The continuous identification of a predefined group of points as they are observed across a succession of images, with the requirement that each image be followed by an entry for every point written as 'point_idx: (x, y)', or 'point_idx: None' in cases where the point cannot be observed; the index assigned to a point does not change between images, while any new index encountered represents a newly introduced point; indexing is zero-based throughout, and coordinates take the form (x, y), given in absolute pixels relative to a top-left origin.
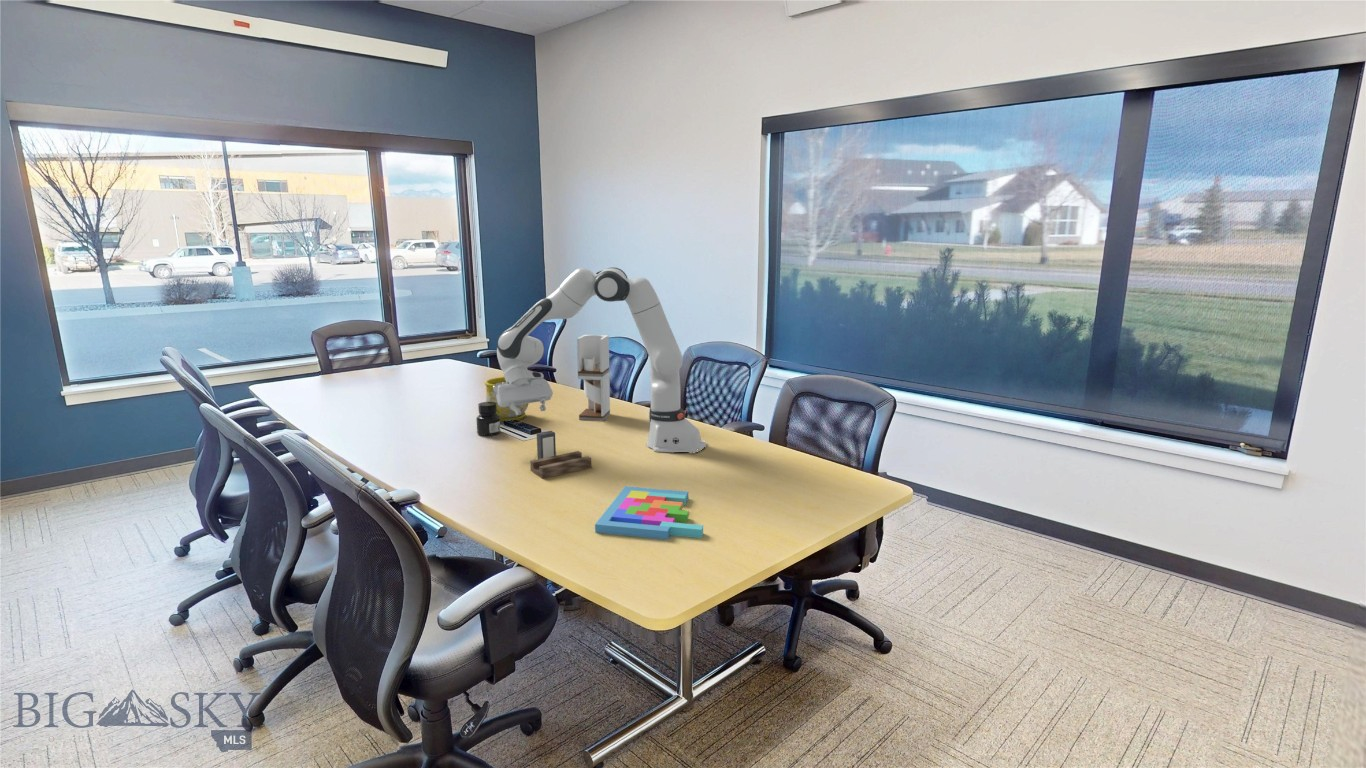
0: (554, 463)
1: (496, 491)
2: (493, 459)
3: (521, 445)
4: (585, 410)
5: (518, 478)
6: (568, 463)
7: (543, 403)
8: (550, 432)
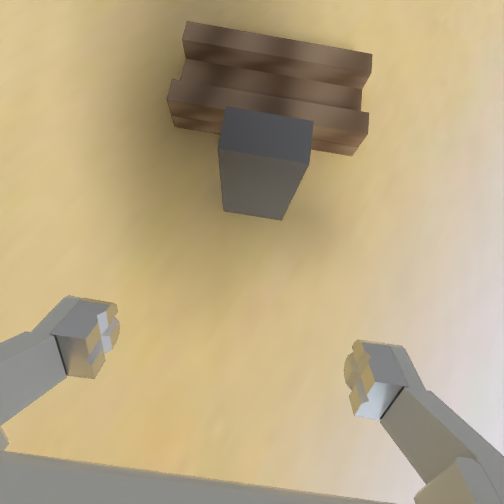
0: (316, 60)
1: (498, 94)
2: None
3: (218, 452)
4: None
5: (411, 130)
6: (275, 40)
7: (28, 344)
8: (242, 124)
